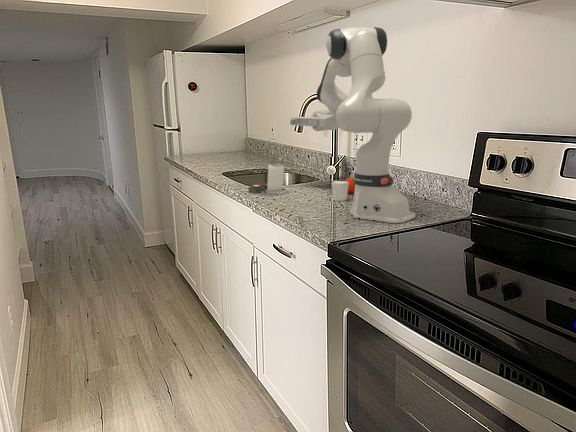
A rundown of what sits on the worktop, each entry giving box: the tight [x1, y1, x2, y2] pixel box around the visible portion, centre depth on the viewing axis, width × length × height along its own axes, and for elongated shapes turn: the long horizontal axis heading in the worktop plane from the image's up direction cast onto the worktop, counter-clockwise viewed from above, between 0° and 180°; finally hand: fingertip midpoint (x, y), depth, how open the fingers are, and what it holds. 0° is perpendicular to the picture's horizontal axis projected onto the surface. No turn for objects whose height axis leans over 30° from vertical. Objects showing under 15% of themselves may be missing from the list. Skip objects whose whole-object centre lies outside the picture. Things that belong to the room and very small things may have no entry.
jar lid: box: [265, 187, 288, 196], centre depth 192 cm, size 9×9×1 cm
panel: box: [247, 183, 291, 198], centre depth 192 cm, size 14×12×4 cm
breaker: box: [250, 184, 262, 188], centre depth 193 cm, size 4×3×2 cm
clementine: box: [344, 176, 355, 194], centre depth 193 cm, size 8×7×7 cm
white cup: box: [331, 180, 349, 202], centre depth 182 cm, size 7×7×7 cm
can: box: [267, 160, 285, 191], centre depth 190 cm, size 6×6×12 cm
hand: (299, 122), depth 192 cm, fingers open, 8 cm apart
